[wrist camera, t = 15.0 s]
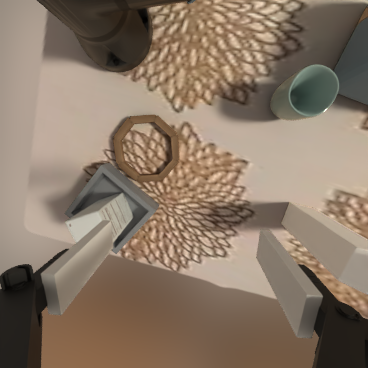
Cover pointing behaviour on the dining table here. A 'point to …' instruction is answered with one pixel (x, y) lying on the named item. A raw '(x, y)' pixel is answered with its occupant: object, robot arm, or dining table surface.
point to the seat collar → (120, 154)
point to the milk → (330, 244)
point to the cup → (305, 93)
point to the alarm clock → (355, 64)
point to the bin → (110, 185)
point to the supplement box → (101, 216)
